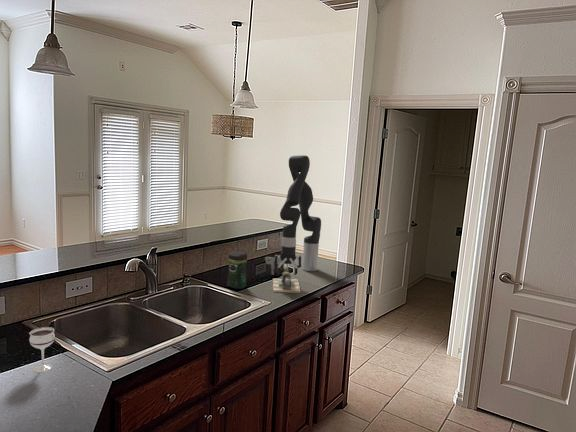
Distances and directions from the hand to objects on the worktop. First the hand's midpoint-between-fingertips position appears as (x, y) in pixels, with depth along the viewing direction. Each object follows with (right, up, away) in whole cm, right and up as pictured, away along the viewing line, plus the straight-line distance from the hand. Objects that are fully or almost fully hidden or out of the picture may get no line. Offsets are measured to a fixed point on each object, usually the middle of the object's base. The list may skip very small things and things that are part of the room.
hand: (287, 274), depth 222 cm
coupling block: (-1, -5, +1) cm, 5 cm away
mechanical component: (-9, -3, +21) cm, 23 cm away
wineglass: (-75, -16, -93) cm, 121 cm away
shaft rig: (-1, -6, +1) cm, 6 cm away
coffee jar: (-26, -6, -4) cm, 27 cm away
